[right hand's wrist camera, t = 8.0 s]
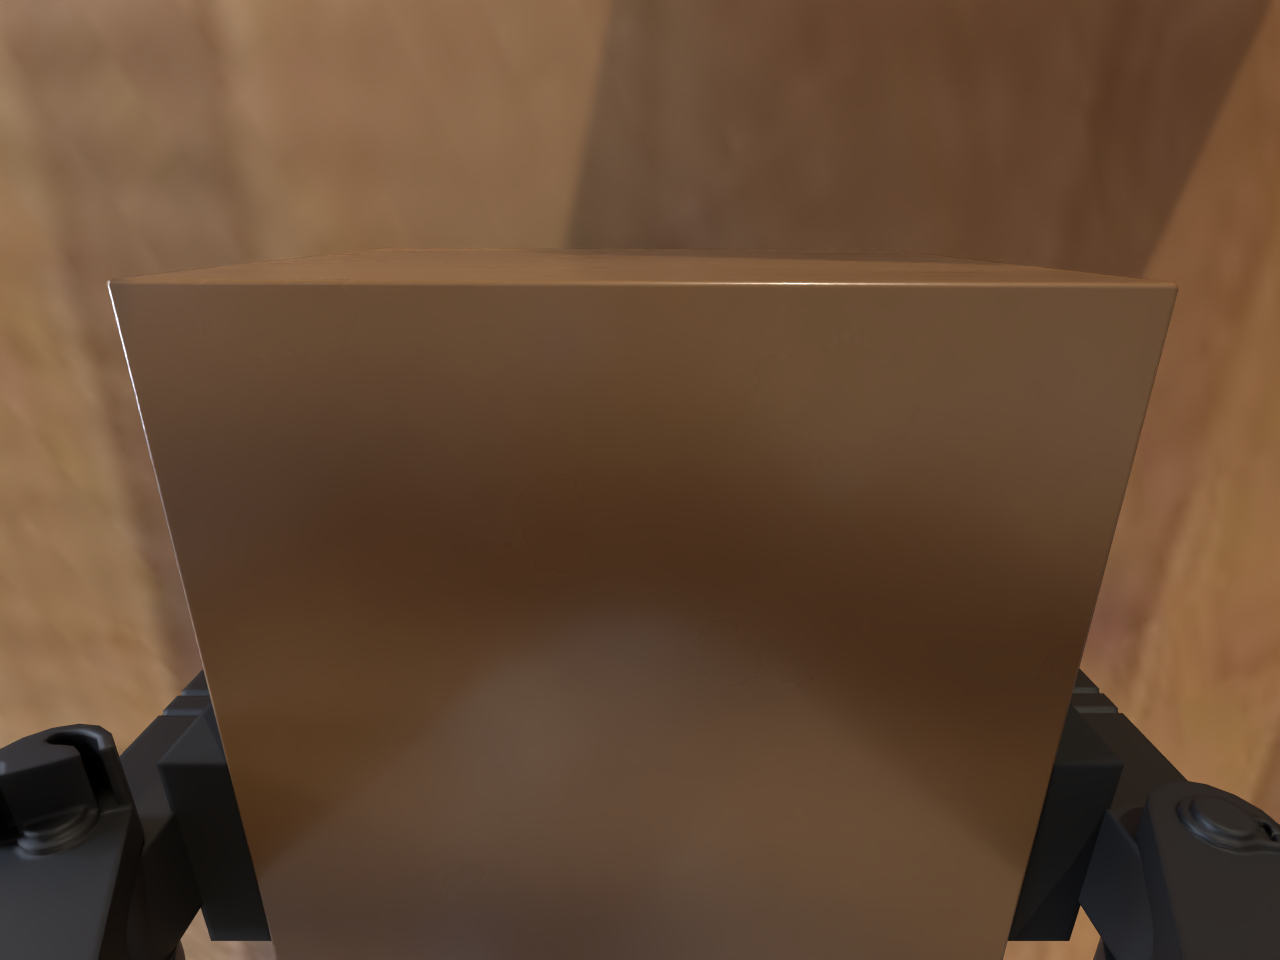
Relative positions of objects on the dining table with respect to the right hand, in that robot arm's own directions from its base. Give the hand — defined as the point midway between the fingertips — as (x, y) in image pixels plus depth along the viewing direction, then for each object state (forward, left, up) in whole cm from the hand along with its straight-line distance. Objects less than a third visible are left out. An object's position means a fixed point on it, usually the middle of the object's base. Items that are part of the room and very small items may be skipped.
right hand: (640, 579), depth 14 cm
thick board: (+7, -23, -1) cm, 24 cm away
